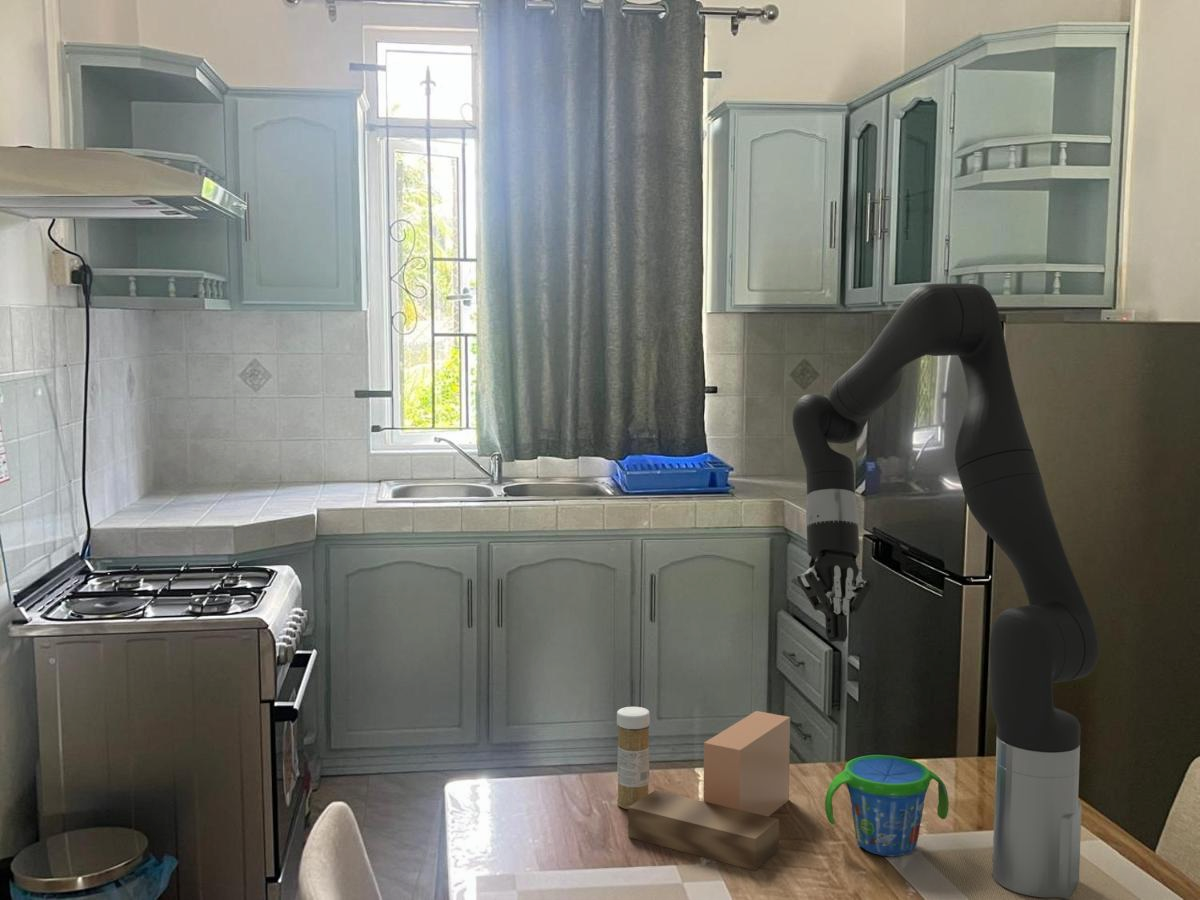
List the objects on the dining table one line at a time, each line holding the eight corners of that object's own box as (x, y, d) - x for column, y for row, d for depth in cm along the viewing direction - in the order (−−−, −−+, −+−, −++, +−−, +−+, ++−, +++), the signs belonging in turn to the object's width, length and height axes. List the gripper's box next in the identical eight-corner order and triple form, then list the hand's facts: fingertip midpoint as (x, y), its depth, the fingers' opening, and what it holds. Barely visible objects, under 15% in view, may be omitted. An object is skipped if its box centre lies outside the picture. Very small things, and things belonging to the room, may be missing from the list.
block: (788, 800, 161) (790, 717, 160) (739, 840, 148) (740, 750, 147) (755, 792, 164) (756, 710, 163) (703, 831, 151) (703, 742, 150)
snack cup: (832, 864, 141) (833, 783, 140) (817, 828, 151) (818, 753, 150) (959, 864, 141) (961, 784, 140) (935, 829, 151) (937, 754, 150)
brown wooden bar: (778, 849, 145) (779, 819, 144) (755, 870, 139) (755, 838, 139) (655, 818, 154) (655, 790, 154) (628, 837, 149) (628, 807, 148)
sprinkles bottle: (634, 796, 162) (635, 703, 161) (656, 805, 159) (656, 711, 158) (609, 804, 160) (610, 709, 158) (631, 814, 156) (631, 717, 155)
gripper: (815, 513, 163) (820, 635, 158) (883, 525, 170) (889, 643, 164) (781, 522, 169) (784, 640, 164) (847, 534, 176) (852, 648, 171)
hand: (837, 641), depth 164 cm, fingers closed
